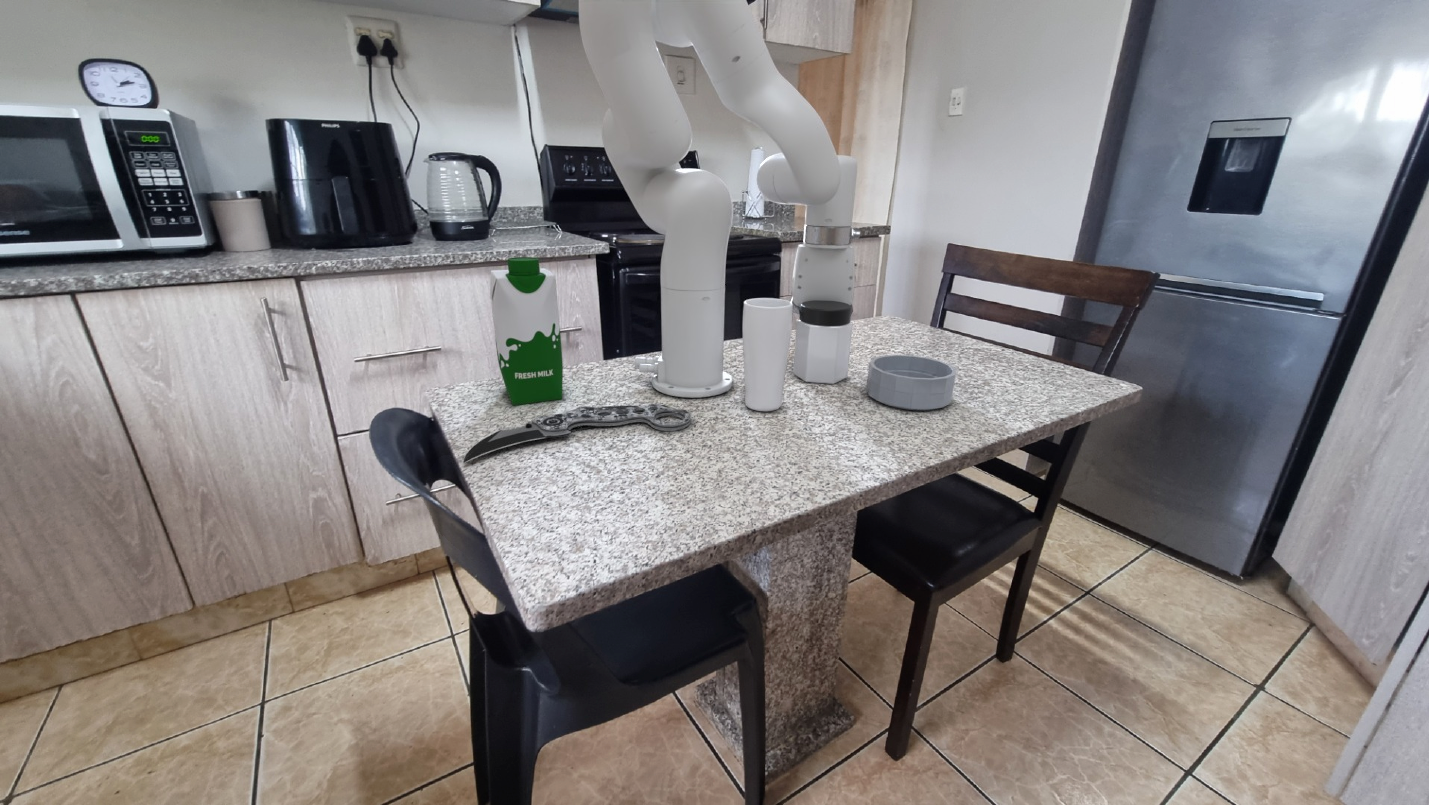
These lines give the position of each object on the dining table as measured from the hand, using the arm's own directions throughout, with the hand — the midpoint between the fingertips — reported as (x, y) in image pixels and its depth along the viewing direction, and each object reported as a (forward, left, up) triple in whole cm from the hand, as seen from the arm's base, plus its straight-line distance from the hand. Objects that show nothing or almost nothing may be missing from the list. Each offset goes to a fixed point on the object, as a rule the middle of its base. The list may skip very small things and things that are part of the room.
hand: (817, 346), depth 101 cm
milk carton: (-44, -20, -4) cm, 48 cm away
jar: (0, -6, -4) cm, 7 cm away
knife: (-33, -33, -4) cm, 46 cm away
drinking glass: (-10, -21, -4) cm, 23 cm away
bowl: (+12, -15, -4) cm, 20 cm away
